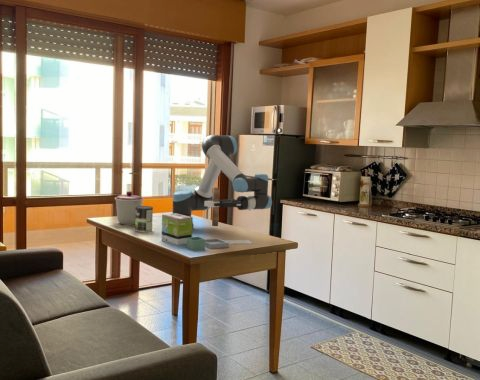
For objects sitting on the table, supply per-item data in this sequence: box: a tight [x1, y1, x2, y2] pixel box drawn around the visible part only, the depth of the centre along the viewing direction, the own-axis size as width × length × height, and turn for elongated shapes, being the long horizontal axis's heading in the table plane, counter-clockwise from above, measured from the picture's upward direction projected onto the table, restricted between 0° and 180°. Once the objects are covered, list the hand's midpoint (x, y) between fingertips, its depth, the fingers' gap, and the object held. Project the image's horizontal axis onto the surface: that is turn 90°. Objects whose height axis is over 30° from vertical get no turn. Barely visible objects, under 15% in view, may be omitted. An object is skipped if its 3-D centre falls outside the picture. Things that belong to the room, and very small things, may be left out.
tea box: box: [161, 213, 194, 246], centre depth 252 cm, size 15×10×15 cm, turn 45°
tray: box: [204, 237, 230, 249], centre depth 248 cm, size 12×11×3 cm
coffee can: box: [134, 205, 154, 233], centre depth 281 cm, size 10×10×14 cm
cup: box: [185, 236, 206, 251], centre depth 239 cm, size 7×7×6 cm
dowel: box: [211, 187, 220, 227], centre depth 245 cm, size 3×3×20 cm
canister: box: [114, 190, 145, 226], centre depth 301 cm, size 18×18×21 cm
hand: (206, 204), depth 243 cm, fingers closed on dowel, 3 cm apart
